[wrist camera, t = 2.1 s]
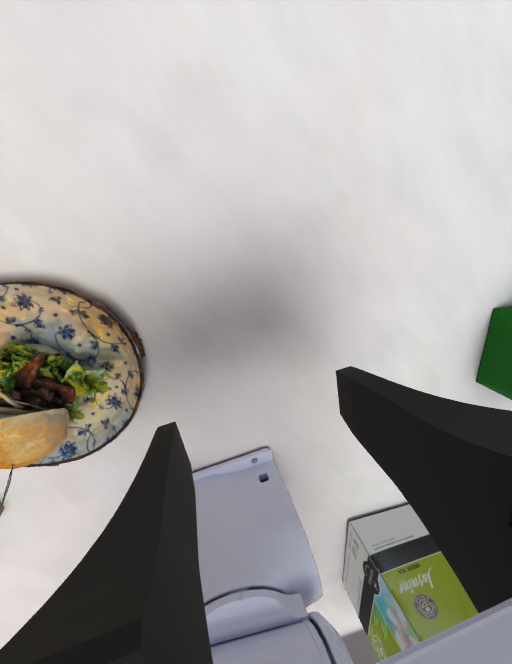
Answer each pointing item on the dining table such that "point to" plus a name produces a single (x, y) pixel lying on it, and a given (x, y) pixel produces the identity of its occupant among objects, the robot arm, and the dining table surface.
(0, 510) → the open wooden frame
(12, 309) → the burger
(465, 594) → the tea box
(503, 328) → the milk carton
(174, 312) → the dining table surface
